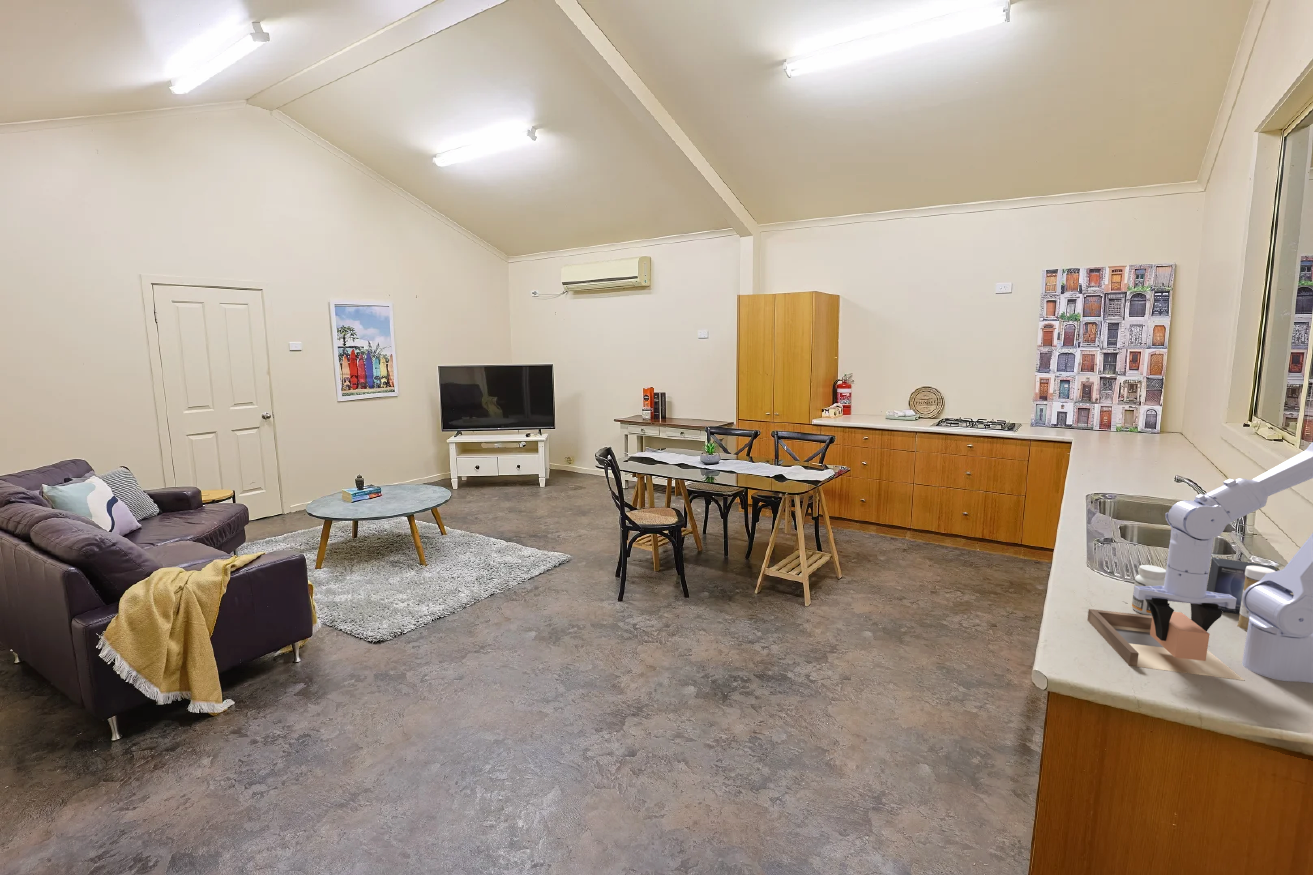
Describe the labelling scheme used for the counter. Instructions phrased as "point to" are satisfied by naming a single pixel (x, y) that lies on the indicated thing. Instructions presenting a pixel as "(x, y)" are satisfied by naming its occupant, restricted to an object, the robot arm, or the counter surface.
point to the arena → (1149, 645)
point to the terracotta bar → (1184, 638)
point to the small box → (1229, 579)
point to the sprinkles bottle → (1252, 577)
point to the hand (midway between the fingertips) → (1177, 640)
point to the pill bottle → (1147, 578)
